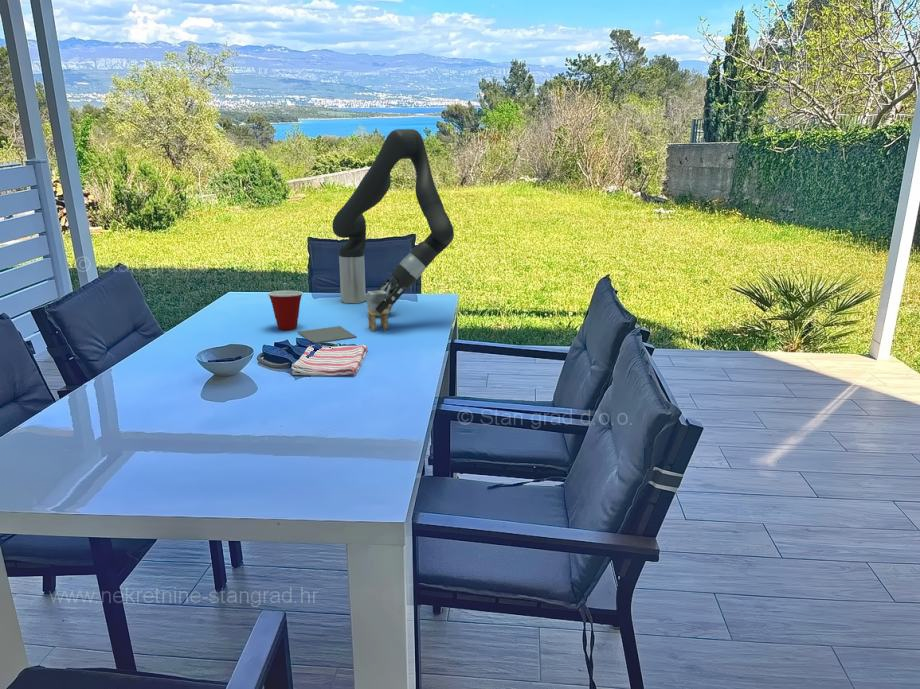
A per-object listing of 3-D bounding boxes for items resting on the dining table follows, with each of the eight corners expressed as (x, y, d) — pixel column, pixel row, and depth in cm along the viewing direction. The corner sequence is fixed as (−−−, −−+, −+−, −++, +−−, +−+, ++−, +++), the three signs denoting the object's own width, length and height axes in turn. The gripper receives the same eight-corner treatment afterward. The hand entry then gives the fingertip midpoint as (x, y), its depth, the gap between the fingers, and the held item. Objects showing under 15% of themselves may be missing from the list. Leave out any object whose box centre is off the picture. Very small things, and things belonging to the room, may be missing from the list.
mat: (297, 332, 210) (297, 331, 210) (339, 327, 217) (339, 325, 217) (312, 343, 199) (312, 342, 198) (356, 337, 205) (356, 336, 205)
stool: (384, 326, 219) (383, 290, 215) (389, 330, 214) (388, 293, 210) (367, 327, 217) (366, 291, 213) (371, 331, 212) (370, 294, 208)
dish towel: (289, 378, 171) (288, 365, 170) (310, 350, 194) (309, 339, 193) (355, 379, 171) (355, 366, 170) (369, 351, 193) (368, 340, 192)
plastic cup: (309, 324, 220) (307, 288, 216) (298, 333, 210) (296, 295, 206) (277, 323, 221) (275, 287, 217) (265, 332, 211) (262, 294, 207)
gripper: (394, 259, 218) (360, 296, 218) (406, 266, 205) (371, 306, 205) (410, 274, 222) (377, 311, 221) (423, 282, 209) (388, 321, 208)
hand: (374, 308), depth 213 cm, fingers open, 8 cm apart
